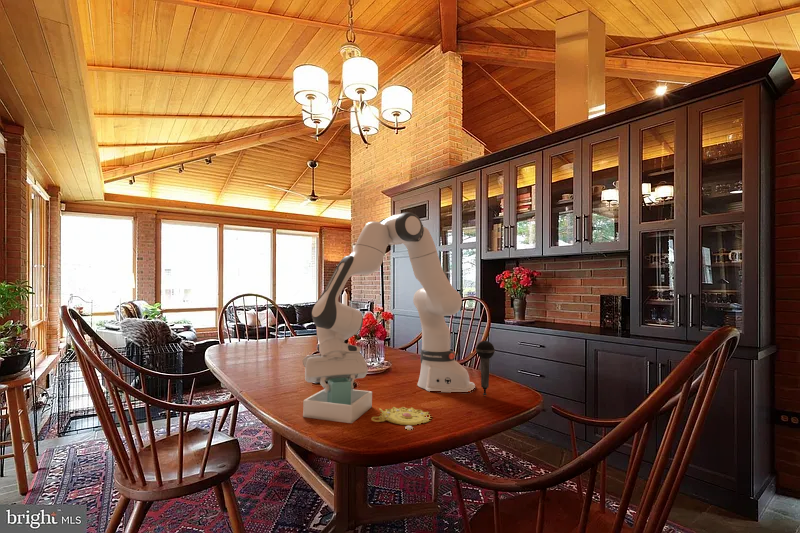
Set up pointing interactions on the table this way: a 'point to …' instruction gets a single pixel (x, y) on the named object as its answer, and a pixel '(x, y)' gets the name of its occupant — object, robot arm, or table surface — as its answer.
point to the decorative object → (403, 416)
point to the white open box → (337, 407)
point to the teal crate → (339, 391)
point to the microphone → (485, 362)
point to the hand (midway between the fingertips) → (339, 390)
